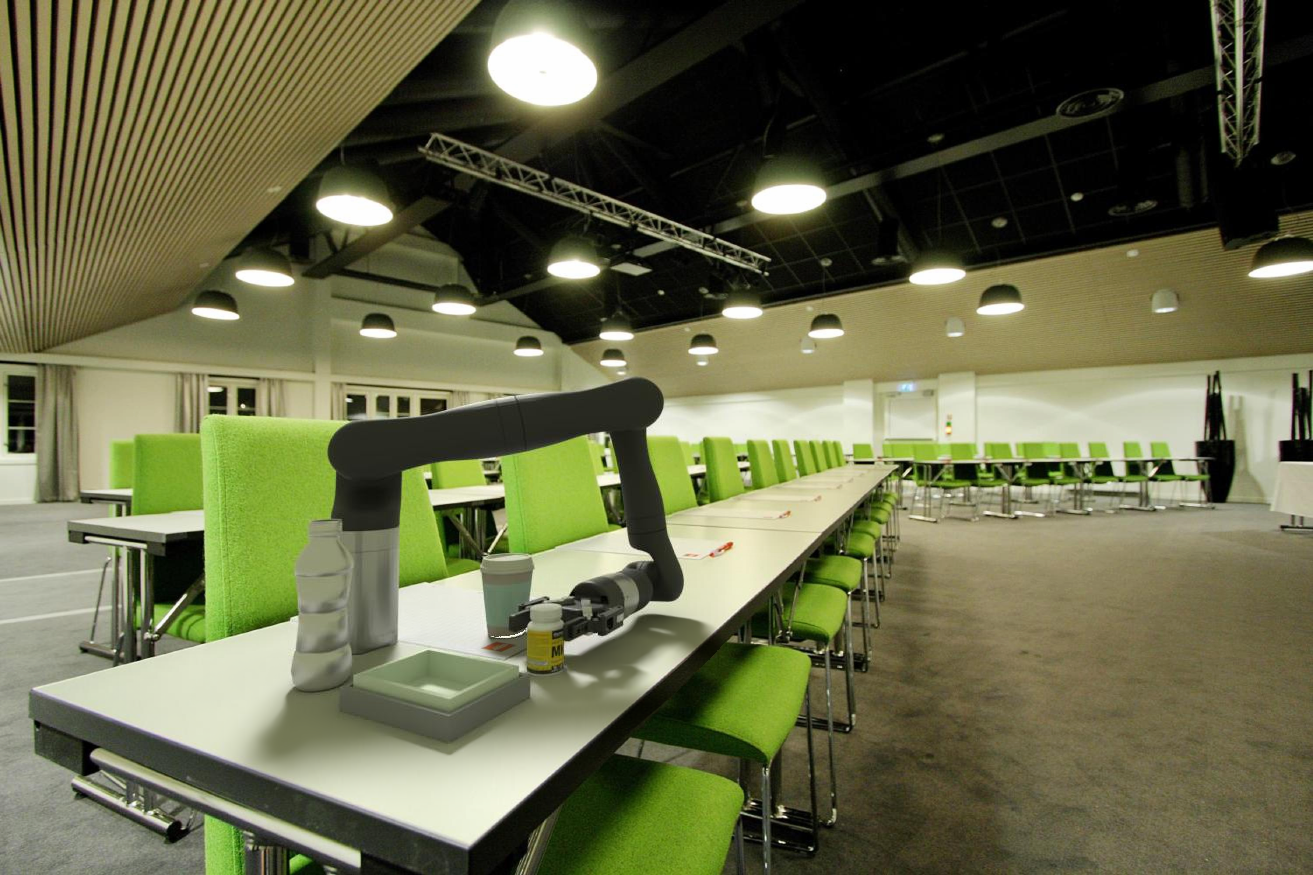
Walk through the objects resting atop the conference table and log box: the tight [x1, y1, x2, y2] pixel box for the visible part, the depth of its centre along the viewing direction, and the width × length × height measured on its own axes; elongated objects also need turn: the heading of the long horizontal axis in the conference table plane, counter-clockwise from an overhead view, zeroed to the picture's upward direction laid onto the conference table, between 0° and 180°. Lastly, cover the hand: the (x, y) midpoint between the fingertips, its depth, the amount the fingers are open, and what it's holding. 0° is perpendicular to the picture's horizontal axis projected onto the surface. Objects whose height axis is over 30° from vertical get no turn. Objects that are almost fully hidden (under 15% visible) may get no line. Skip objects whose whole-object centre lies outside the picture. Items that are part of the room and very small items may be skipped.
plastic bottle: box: [290, 518, 354, 693], centre depth 70 cm, size 6×7×20 cm
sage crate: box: [352, 647, 520, 713], centre depth 64 cm, size 14×10×4 cm
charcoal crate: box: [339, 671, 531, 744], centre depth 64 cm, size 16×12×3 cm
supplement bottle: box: [526, 603, 565, 677], centre depth 75 cm, size 5×5×8 cm
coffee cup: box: [478, 552, 536, 637], centre depth 92 cm, size 8×9×12 cm
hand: (537, 628), depth 73 cm, fingers open, 8 cm apart
